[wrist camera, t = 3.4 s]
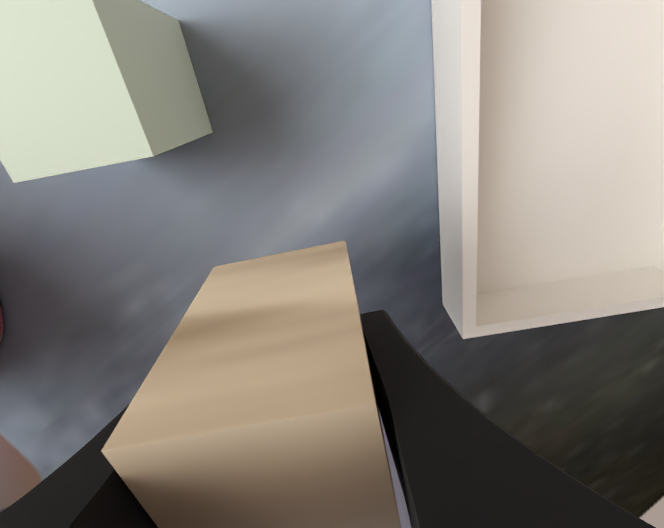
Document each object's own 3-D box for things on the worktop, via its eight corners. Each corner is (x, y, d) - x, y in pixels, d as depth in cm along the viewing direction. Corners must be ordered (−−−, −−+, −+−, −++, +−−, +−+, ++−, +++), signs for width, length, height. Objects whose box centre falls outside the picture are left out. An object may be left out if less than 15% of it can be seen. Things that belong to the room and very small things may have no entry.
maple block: (366, 346, 12) (406, 554, 7) (253, 367, 12) (201, 585, 7) (345, 240, 10) (375, 403, 5) (213, 267, 10) (101, 451, 5)
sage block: (213, 132, 15) (153, 156, 9) (122, 149, 15) (13, 182, 10) (178, 20, 13) (80, -30, 8) (76, 41, 13) (-90, 7, 8)
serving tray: (652, 269, 19) (709, 299, 16) (442, 304, 19) (462, 339, 16) (783, -211, 11) (935, -310, 8) (426, -133, 11) (460, -202, 9)
